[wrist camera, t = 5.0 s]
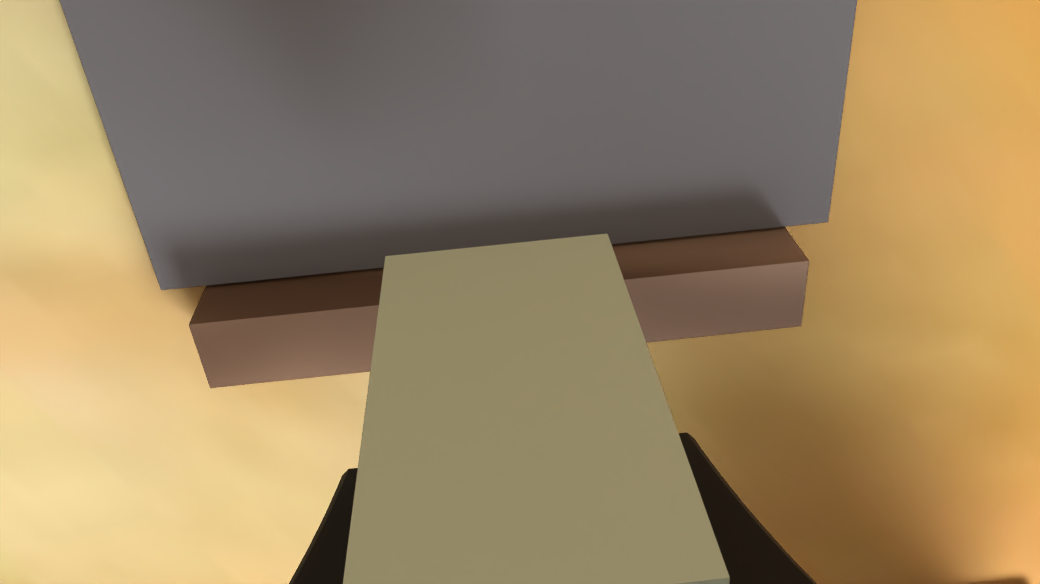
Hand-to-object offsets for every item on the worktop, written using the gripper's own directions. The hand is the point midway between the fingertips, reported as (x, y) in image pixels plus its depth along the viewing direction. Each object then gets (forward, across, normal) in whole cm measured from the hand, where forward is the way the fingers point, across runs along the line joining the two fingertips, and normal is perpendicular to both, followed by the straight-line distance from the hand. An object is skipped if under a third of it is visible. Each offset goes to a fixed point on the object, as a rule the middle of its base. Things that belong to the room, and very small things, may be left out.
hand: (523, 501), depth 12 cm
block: (+3, 0, 0) cm, 3 cm away
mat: (+9, 0, -4) cm, 10 cm away
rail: (+9, 0, +2) cm, 9 cm away
